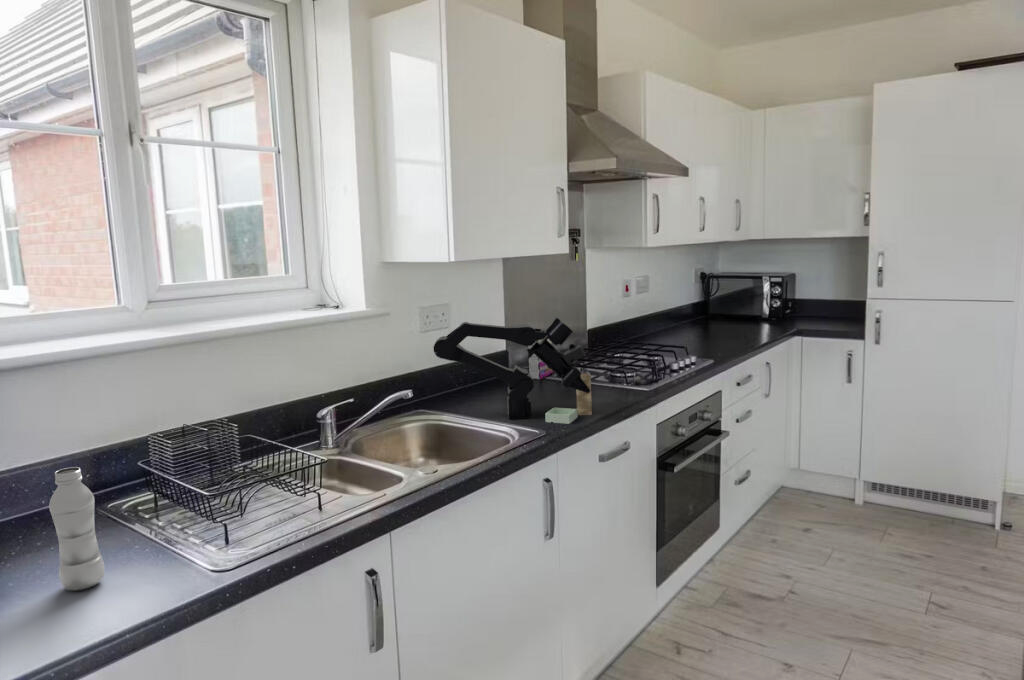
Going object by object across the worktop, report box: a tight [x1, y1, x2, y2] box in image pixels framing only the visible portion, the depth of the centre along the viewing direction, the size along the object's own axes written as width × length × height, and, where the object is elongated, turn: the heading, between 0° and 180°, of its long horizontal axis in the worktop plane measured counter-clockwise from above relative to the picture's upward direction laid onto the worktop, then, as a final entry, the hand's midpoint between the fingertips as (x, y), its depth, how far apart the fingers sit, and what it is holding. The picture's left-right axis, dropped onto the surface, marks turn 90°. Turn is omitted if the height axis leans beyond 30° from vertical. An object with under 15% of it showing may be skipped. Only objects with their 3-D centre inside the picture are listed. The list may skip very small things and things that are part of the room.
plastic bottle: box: [48, 466, 105, 592], centre depth 115 cm, size 6×7×20 cm
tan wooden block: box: [575, 372, 593, 416], centre depth 213 cm, size 4×4×12 cm
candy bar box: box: [527, 339, 553, 380], centre depth 270 cm, size 11×5×16 cm, turn 147°
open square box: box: [544, 407, 579, 425], centre depth 207 cm, size 7×7×3 cm
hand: (588, 390), depth 212 cm, fingers closed on tan wooden block, 4 cm apart
